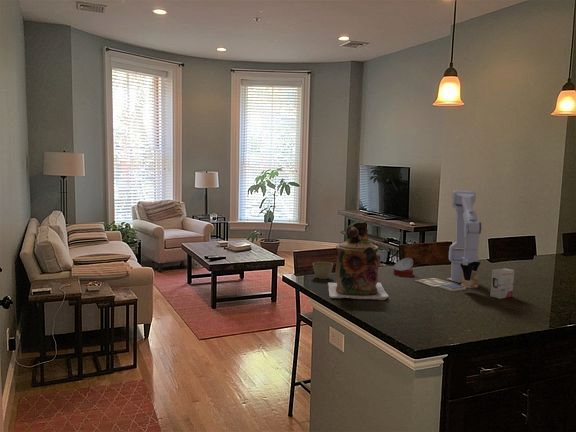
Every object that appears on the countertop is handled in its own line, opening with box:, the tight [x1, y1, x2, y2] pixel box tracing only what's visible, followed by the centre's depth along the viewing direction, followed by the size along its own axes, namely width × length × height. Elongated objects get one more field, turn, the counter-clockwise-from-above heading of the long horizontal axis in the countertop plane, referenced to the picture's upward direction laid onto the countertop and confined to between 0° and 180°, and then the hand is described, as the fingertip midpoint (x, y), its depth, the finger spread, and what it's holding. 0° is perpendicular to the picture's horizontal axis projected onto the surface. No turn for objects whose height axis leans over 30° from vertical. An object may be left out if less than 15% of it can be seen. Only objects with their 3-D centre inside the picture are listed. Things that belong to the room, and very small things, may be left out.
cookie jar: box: [327, 219, 389, 301], centre depth 213 cm, size 25×25×32 cm
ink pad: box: [439, 283, 467, 292], centre depth 226 cm, size 8×8×1 cm
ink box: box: [489, 267, 515, 300], centre depth 213 cm, size 9×5×12 cm, turn 116°
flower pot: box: [312, 261, 334, 280], centre depth 242 cm, size 10×10×7 cm
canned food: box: [392, 257, 414, 277], centre depth 254 cm, size 11×10×10 cm
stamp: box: [460, 270, 479, 290], centre depth 218 cm, size 5×5×7 cm
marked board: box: [414, 277, 456, 288], centre depth 236 cm, size 13×13×1 cm
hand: (469, 279), depth 218 cm, fingers closed on stamp, 6 cm apart
